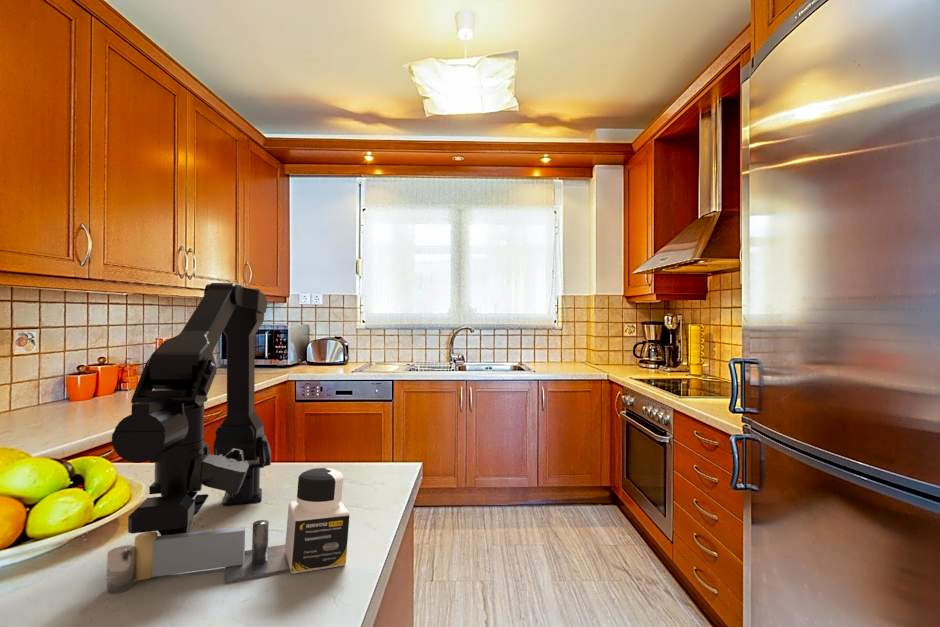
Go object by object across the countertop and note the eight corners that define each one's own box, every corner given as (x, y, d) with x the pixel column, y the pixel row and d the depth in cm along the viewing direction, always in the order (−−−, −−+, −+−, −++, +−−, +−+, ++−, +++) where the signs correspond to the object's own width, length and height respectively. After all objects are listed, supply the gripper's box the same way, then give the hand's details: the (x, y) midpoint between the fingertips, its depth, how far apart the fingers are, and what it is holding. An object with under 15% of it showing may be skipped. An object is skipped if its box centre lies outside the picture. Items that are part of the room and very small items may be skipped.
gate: (244, 558, 66) (245, 521, 66) (242, 566, 64) (243, 527, 64) (137, 572, 62) (138, 532, 62) (130, 581, 60) (132, 540, 60)
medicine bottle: (290, 574, 62) (298, 480, 62) (284, 552, 68) (291, 466, 69) (346, 566, 65) (353, 476, 66) (335, 545, 71) (341, 463, 72)
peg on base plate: (228, 556, 68) (229, 516, 68) (289, 546, 71) (290, 508, 71) (224, 583, 60) (226, 539, 61) (292, 571, 63) (293, 529, 64)
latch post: (109, 584, 60) (111, 547, 60) (136, 579, 61) (137, 543, 61) (103, 595, 57) (104, 557, 58) (131, 590, 59) (132, 553, 59)
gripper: (232, 454, 59) (231, 582, 58) (253, 423, 77) (252, 521, 76) (126, 462, 55) (125, 598, 55) (174, 427, 73) (173, 530, 73)
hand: (178, 556), depth 65 cm, fingers closed
